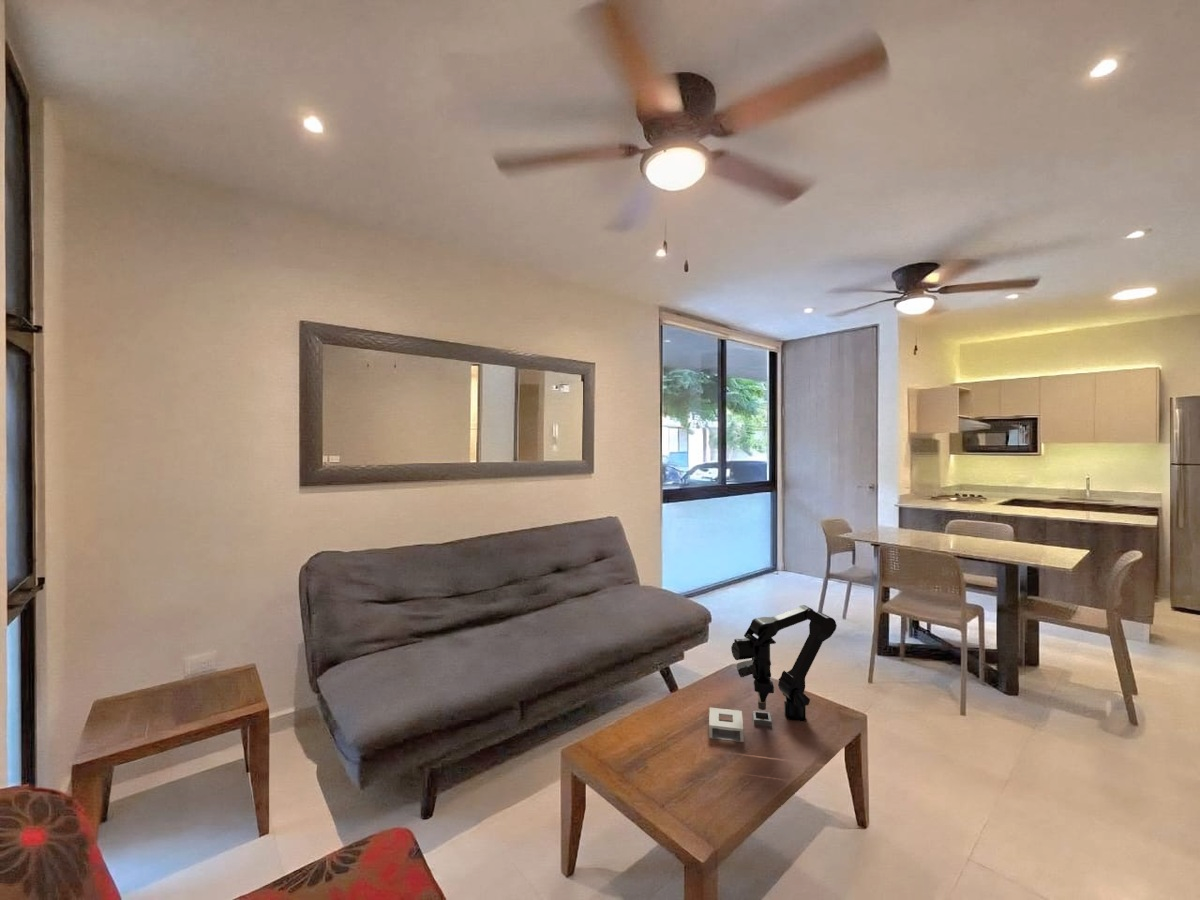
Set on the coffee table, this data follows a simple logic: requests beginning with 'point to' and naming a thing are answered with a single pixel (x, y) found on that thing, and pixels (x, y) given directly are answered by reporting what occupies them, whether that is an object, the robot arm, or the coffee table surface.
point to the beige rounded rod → (761, 703)
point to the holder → (762, 718)
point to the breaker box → (726, 725)
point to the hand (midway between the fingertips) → (762, 699)
